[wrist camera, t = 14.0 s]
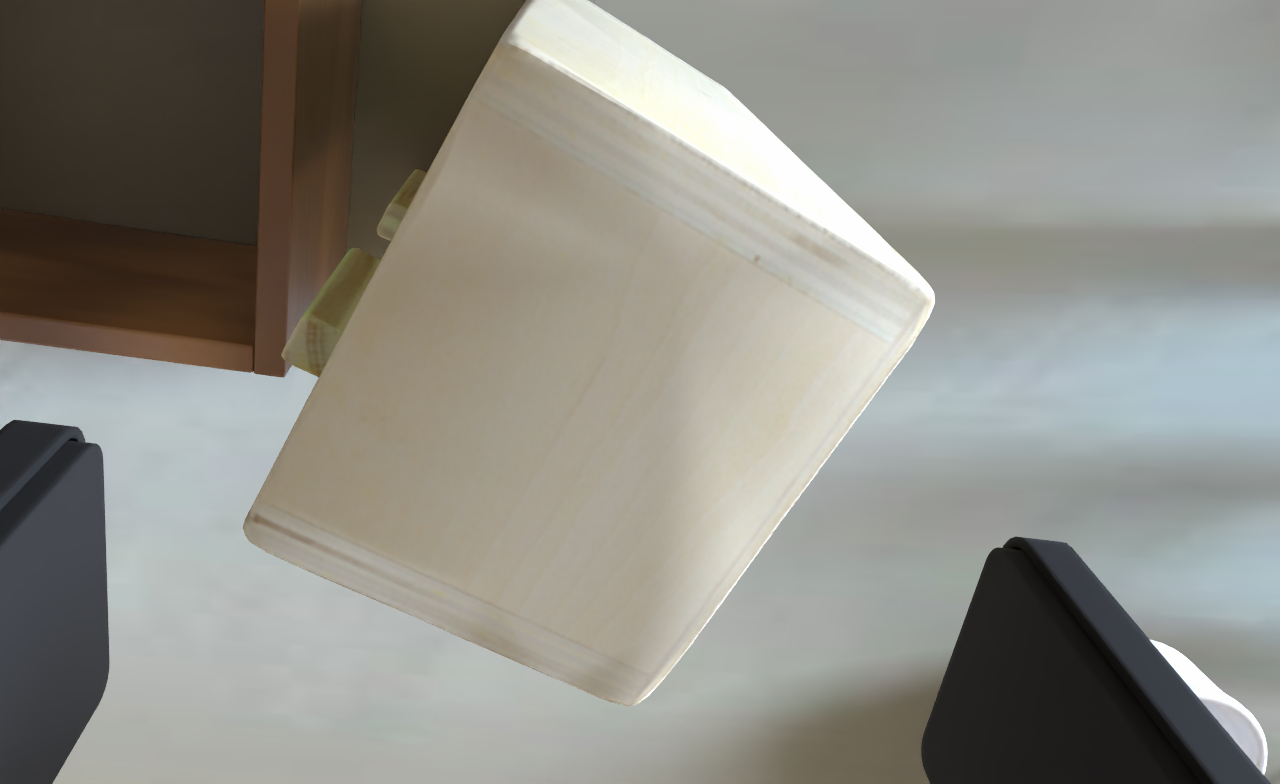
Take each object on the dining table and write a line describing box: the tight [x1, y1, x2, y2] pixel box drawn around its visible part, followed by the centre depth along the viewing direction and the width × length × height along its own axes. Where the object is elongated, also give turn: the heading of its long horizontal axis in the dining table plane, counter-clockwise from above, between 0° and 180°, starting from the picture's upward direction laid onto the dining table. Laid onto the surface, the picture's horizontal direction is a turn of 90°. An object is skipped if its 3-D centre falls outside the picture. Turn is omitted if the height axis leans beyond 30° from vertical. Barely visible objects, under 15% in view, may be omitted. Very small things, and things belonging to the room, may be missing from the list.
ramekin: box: [1150, 640, 1267, 775], centre depth 42 cm, size 9×9×4 cm
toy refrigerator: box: [243, 0, 935, 706], centre depth 23 cm, size 8×7×21 cm
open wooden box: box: [0, 0, 362, 377], centre depth 27 cm, size 13×13×8 cm
